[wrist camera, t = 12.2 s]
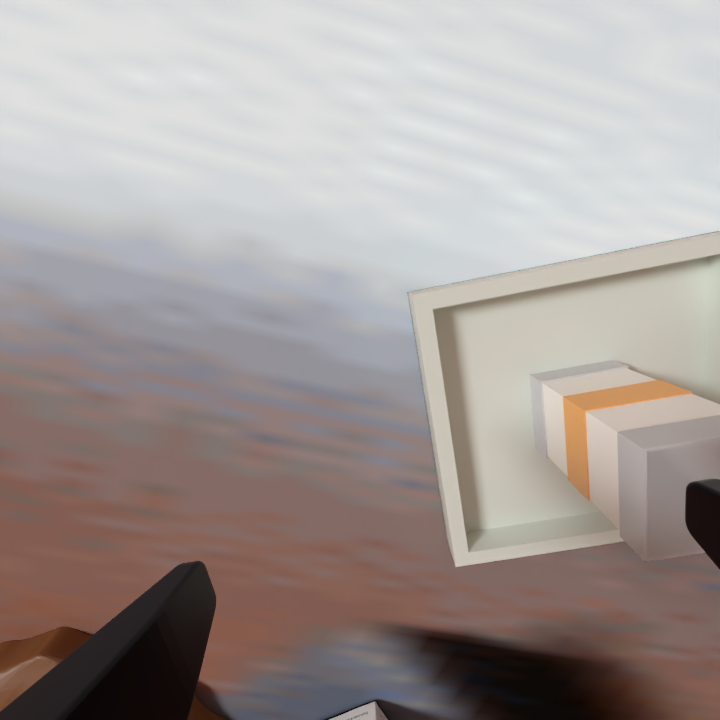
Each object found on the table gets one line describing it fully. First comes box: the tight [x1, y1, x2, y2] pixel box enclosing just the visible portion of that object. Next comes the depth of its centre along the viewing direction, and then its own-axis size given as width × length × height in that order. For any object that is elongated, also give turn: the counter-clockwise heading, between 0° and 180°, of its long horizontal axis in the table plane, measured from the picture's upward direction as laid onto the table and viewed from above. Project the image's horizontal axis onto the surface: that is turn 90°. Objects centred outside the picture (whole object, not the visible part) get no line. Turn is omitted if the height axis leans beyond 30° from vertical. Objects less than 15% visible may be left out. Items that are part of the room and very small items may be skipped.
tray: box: [408, 231, 720, 567], centre depth 19 cm, size 15×15×2 cm
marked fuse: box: [529, 360, 720, 562], centre depth 16 cm, size 4×4×8 cm
